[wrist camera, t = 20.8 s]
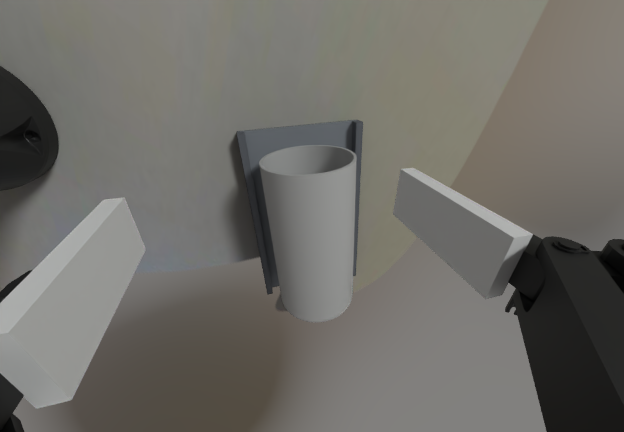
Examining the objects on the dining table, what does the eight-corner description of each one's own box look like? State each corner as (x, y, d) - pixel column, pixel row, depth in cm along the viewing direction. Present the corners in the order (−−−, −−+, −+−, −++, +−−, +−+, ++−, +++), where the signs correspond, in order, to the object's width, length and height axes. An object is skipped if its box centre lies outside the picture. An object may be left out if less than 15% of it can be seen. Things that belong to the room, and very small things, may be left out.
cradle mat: (351, 268, 54) (355, 275, 52) (266, 286, 51) (267, 294, 49) (357, 119, 39) (362, 122, 37) (237, 131, 36) (236, 134, 34)
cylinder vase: (318, 340, 38) (306, 184, 26) (267, 296, 46) (240, 161, 34) (366, 292, 46) (376, 154, 33) (316, 262, 53) (308, 141, 41)
